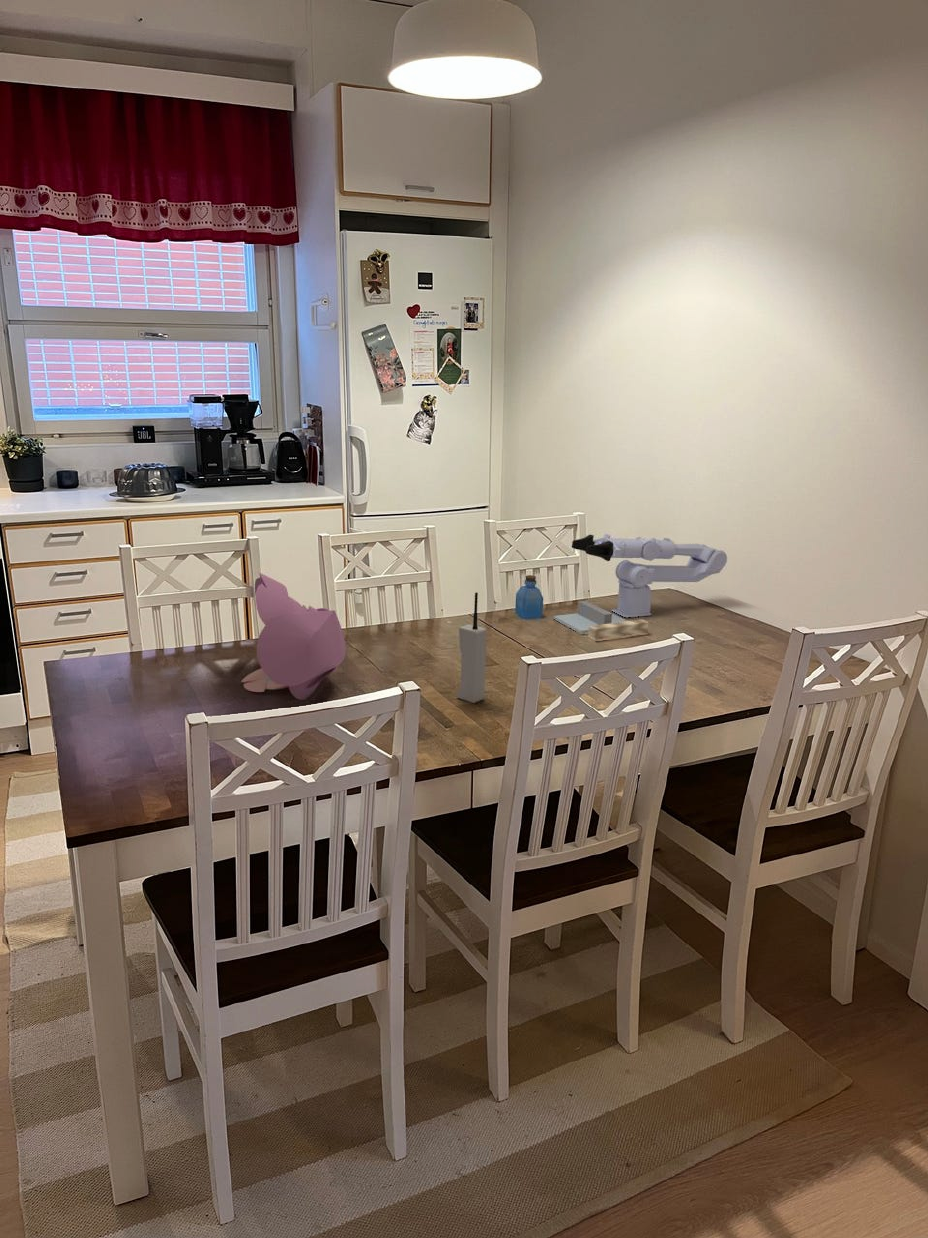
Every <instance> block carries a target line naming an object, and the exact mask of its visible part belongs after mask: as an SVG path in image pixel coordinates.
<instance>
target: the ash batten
mask: <svg viewBox="0 0 928 1238" xmlns="http://www.w3.org/2000/svg"><path fill="white" fill-rule="evenodd" d="M649 624H650V622H649V621H647V620H644V619H643V618H642V619H641V618H640V619H634V620H627V621H626V622H618V623H610V624H603V625H595V626H589V632H588V634H587V638H588V637H590V638H591V639H593V640H598V639H603V638H610V637H617V636H626V635H632V634H633V635H634V634H640V633H648V634H649Z"/></svg>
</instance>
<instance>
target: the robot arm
mask: <svg viewBox="0 0 928 1238" xmlns="http://www.w3.org/2000/svg"><path fill="white" fill-rule="evenodd" d="M594 538H595V537H594V535H593V534H588V535H587V536H584V537H583V538H579V539H578V538H577V539H574V540H572V542H571V548H572V549H575V550H578V551H579V550H580V551H583V552H585V554H587V555H588V556H593V557H597V558H600V559H602V560H604V561H607V562H610V561H611V559H623V560H620V562H619V563H617V565H616V567H615V570H614V571H615V576H616V579H618V580H617V581H618V582H617V583H618V595H617V608H612V609H611V610H610V612H612V611H613V612H612V613H614V612H615V613H614V614H616V613H617V614H616V615H618V614H619V616H620V615H621V616H620V617H622V616H623V618H624V617H626V618H625V619H629V618H628V617H631V618H638V616H639V617H646V616H652V613H651V604H652V590H651V587H650V586H649V585H652V584H653V583H698V582H701V581H703V580H704V579H706V578H708V577H709V576H712V575H716V574H720V573H721V572H722V570H723V569H724V567H725V566H726V564H727V562H728V556H727V553H726V552H725V551H724V550H719V549H715V548H713V547H710V546H707V545H706V544H699V543H678V544H677V543H675V542H674V541H673V540H671V539H670V538H668V537H663V539H656V538H655V537H650V539H647V538H643V537H641V536H638V537H635V538H622V537H621V538H616V537H615V538H614V537H612V538H611V534H609V533H605V534H604V536H603V537H601V538H597V539H594ZM675 556H681V557H682V556H684V557H690V558H689V560H688V561H687V564H686V565H661V564H660V565H658V564H657V565H653V564H650V565H649V564H641V563H636V562H635V563H634V562H632V561H631V560H628V559H639V558H640V559H643V560H646V561H649V562H652V561H653V560H655V559H656V560H659V559H660V560H671V559H673V558H674V557H675Z"/></svg>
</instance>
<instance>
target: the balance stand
mask: <svg viewBox="0 0 928 1238" xmlns="http://www.w3.org/2000/svg"><path fill="white" fill-rule="evenodd" d="M554 619H555V620H557V621H559V622H560V623H562V624H564V625H566V626H568V627H570V628H572V629H574V630H576V631H577V632H580V633H586V632H589V626H595V625H603V624H610V623H618V622H626V621H628V620H627V619H626V618H624V617H623V618H622V616H620V615H619V616H618V615H617V614H615V613H613V612H611V611H608V610H606V609H603V608H601V607H599V606H597V605H595V604H593V603H591V602H589V601H587V600H582V601H581V600H580V601H578V605H577V612H576V613H569V614H560V615H559V614H558V615H553V620H554ZM555 620H554V621H555ZM560 623H559V624H560ZM562 624H561V625H562ZM564 625H563V626H564Z"/></svg>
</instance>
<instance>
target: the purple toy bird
mask: <svg viewBox="0 0 928 1238" xmlns="http://www.w3.org/2000/svg"><path fill="white" fill-rule="evenodd" d="M258 574H259V577H258V578H256V579H255V581H254V594H255V605H256V609H257V610H256V611H257V614H258V616H259V618H260V620H261V622H262V623H263V624H264V627H263V628H262V629H261V632H260V633H259V635H258V639H257V644H256V656H257V660H258V663H259V665H260V668H259V669H257V670H255V671H253V672H251V673H249V674H247V675H246V676H245V677H244V678H243V679H241V683H243V687H244V689H246V690H247V691H250V692H254V693H255V692H256V693H263V692H265V690H281V689H285V688H288V690H289V691H290V694H291V695H292V696H293V697H295V699H297V700H300V701H304V700H306V699H308V698H309V697H311V696H312V695H313V694H314V692H315V691H316V689H317V688H318V686H319V685H320V683H321V681H323V680H324V679H325V678H327V677H328V676H329V675H330V674H331V673H332V672H333V671H335V669H337V667H338V666H339V665H341V663H342V662H343V661H344V659H345V656H346V653H347V652H346V651H347V650H346V648H347V647H346V641H345V635H344V631H343V628H342V625H341V623H340V620H339V618H338V616H337V615H338V614H337V612H336V610H334V609H331V610H330V609H328V608H322V607H321V608H314V607H313V606H311V605H309V606H308V608H307V607H306V606H305V605H304V604H300V602H298V601H297V600H296V599H294V598H292V597H290V596H289V591H288V588H287V586H286V585H284V584H283V583H281V582H280V581H277V580H275V579H273V578H271V577H269V576H268V575H265V574H263V573H261V572H259V571H258ZM312 693H313V694H312ZM311 694H312V695H311ZM310 695H311V696H310ZM308 696H309V697H308ZM307 697H308V698H307Z"/></svg>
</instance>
